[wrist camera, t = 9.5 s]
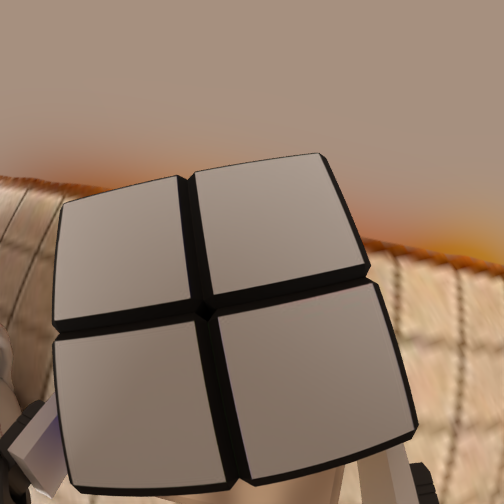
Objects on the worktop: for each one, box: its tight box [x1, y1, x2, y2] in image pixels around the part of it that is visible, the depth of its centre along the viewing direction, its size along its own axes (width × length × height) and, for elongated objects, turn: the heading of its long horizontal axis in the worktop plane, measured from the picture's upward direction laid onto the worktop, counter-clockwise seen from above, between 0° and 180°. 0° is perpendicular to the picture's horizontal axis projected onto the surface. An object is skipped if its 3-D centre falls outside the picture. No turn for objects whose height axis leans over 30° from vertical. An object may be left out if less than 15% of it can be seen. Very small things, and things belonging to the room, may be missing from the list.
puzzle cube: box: [52, 153, 419, 497], centre depth 13 cm, size 10×10×10 cm
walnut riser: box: [154, 465, 345, 504], centre depth 27 cm, size 18×18×6 cm
